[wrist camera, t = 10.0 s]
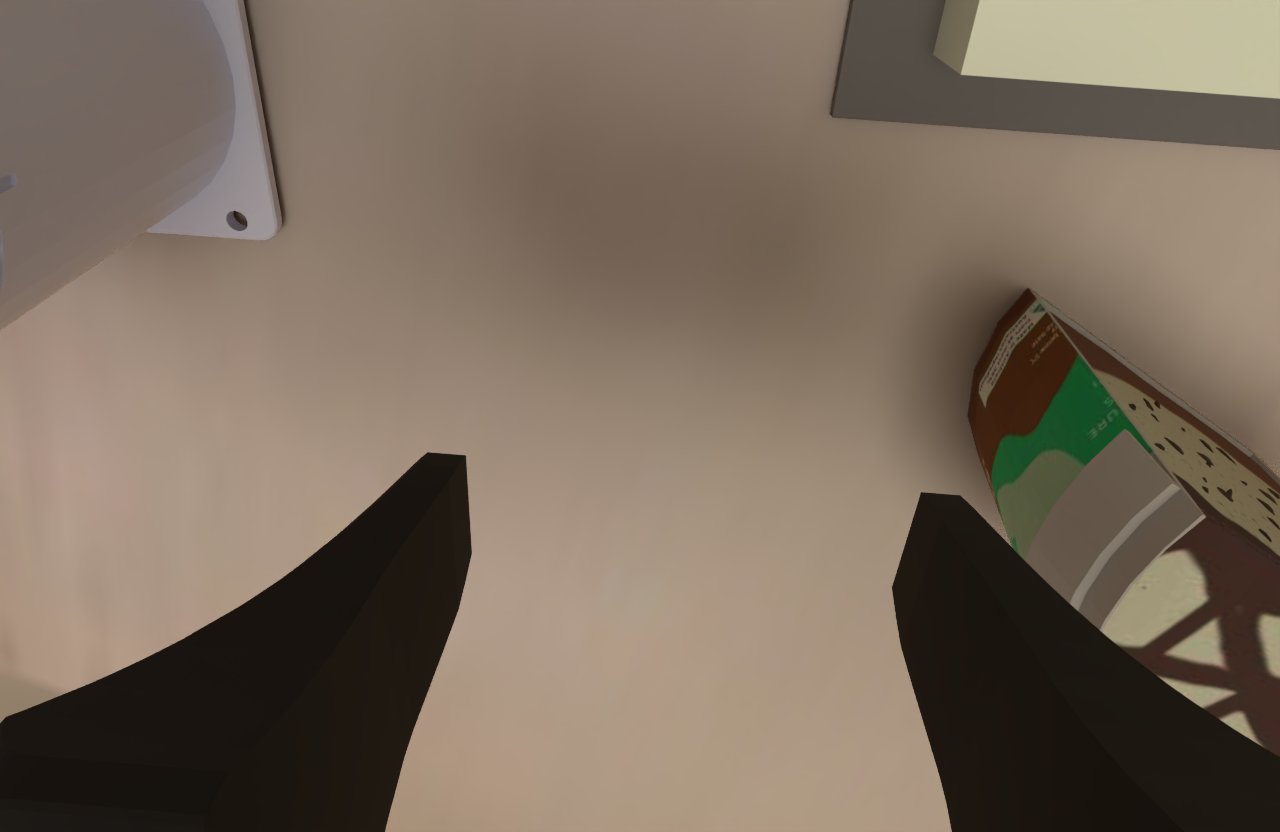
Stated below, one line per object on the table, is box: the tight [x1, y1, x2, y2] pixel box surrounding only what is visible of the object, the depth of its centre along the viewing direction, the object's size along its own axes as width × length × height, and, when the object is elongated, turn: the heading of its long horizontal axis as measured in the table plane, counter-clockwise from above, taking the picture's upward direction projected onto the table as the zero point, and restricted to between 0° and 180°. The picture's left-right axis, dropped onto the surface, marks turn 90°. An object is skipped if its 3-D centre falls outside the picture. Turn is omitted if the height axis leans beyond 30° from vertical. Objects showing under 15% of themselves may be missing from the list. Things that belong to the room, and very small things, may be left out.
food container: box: [968, 288, 1280, 757], centre depth 21 cm, size 12×6×10 cm, turn 57°
